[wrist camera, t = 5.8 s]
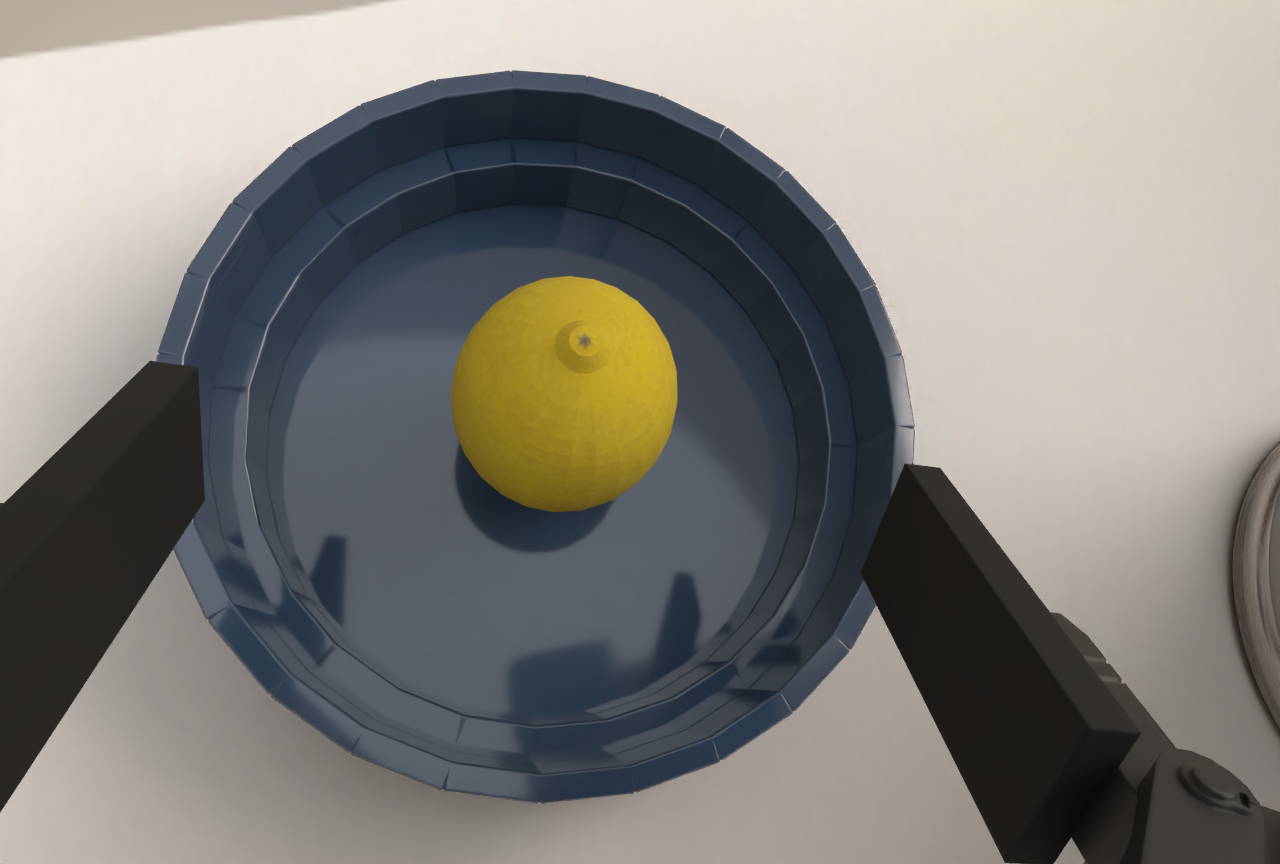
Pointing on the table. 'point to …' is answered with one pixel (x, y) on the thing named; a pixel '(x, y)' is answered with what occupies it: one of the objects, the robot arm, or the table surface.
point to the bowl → (476, 512)
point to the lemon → (564, 394)
